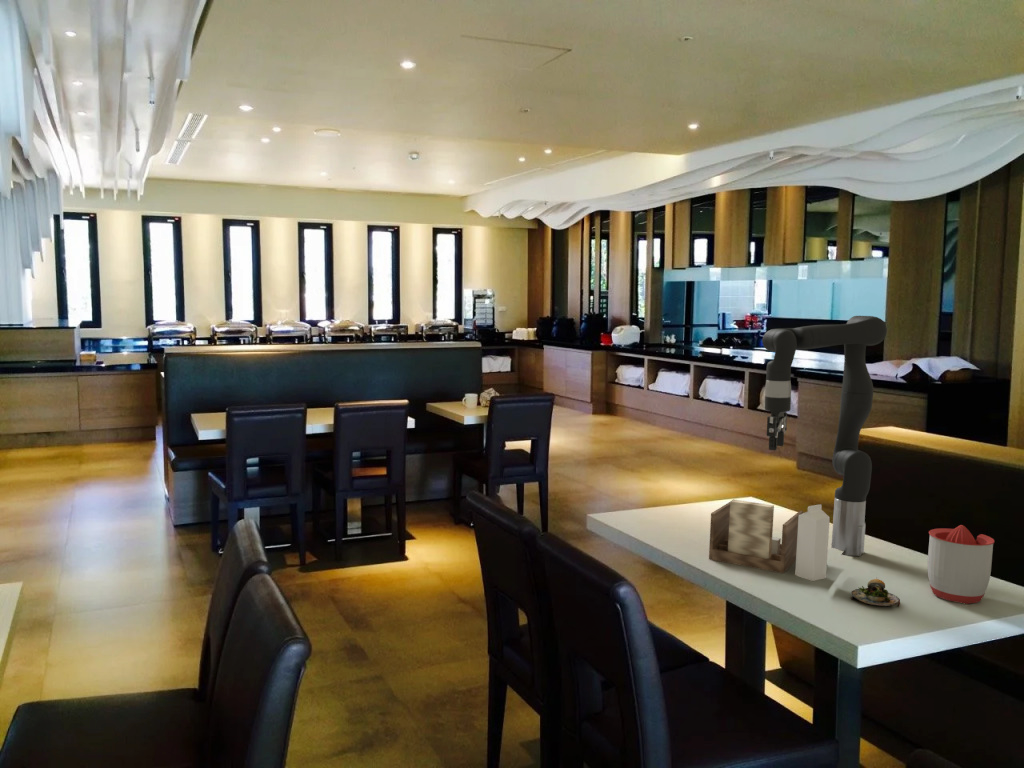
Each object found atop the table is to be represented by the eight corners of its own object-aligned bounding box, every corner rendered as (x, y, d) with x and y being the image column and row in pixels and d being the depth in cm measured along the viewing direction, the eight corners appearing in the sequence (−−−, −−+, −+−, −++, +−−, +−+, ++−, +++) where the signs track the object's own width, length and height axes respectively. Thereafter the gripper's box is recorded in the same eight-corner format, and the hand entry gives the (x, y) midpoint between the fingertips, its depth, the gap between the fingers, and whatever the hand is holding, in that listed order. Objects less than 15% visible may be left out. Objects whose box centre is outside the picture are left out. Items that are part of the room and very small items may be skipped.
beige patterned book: (770, 565, 240) (774, 505, 238) (767, 568, 238) (771, 507, 236) (730, 557, 246) (733, 499, 245) (727, 560, 244) (730, 501, 242)
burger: (843, 601, 217) (845, 574, 216) (861, 591, 225) (863, 564, 224) (889, 614, 208) (891, 585, 208) (906, 603, 217) (908, 575, 216)
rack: (800, 560, 250) (803, 511, 249) (783, 578, 233) (786, 525, 232) (729, 547, 262) (731, 500, 260) (708, 563, 245) (711, 513, 244)
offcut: (779, 560, 245) (780, 538, 244) (776, 563, 242) (778, 540, 241) (762, 557, 247) (763, 535, 247) (759, 560, 245) (761, 537, 244)
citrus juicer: (999, 596, 223) (1005, 524, 221) (979, 612, 210) (985, 536, 209) (937, 581, 234) (943, 513, 232) (915, 595, 222) (920, 523, 220)
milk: (825, 583, 230) (831, 506, 228) (812, 586, 227) (817, 509, 225) (807, 576, 235) (812, 501, 233) (793, 579, 232) (799, 504, 230)
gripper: (784, 398, 239) (783, 452, 241) (796, 393, 251) (794, 445, 253) (759, 396, 243) (757, 450, 245) (771, 392, 255) (769, 443, 257)
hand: (776, 447), depth 249 cm, fingers open, 8 cm apart
